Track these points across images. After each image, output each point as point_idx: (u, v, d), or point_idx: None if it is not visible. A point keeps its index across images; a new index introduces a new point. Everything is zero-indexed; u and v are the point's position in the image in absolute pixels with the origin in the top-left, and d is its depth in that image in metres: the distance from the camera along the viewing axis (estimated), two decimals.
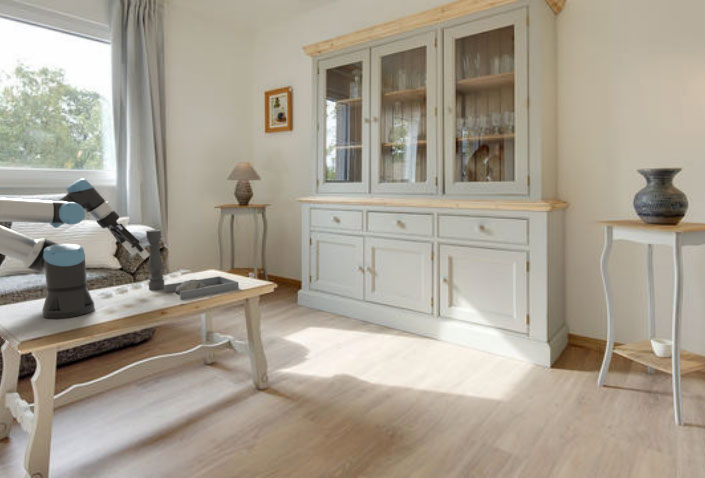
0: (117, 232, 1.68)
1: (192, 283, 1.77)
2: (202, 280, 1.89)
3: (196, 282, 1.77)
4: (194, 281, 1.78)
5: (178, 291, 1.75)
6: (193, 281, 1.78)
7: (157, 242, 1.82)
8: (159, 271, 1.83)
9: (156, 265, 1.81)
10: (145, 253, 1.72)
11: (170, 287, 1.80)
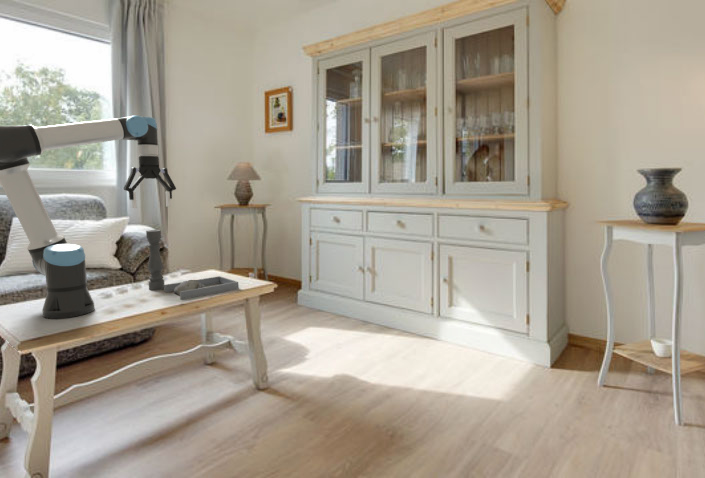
0: (158, 174, 1.80)
1: (191, 283, 1.76)
2: (202, 280, 1.89)
3: (195, 282, 1.76)
4: (193, 281, 1.77)
5: (177, 291, 1.74)
6: (192, 281, 1.77)
7: (157, 242, 1.82)
8: (159, 271, 1.83)
9: (156, 265, 1.81)
10: None
11: (170, 287, 1.80)
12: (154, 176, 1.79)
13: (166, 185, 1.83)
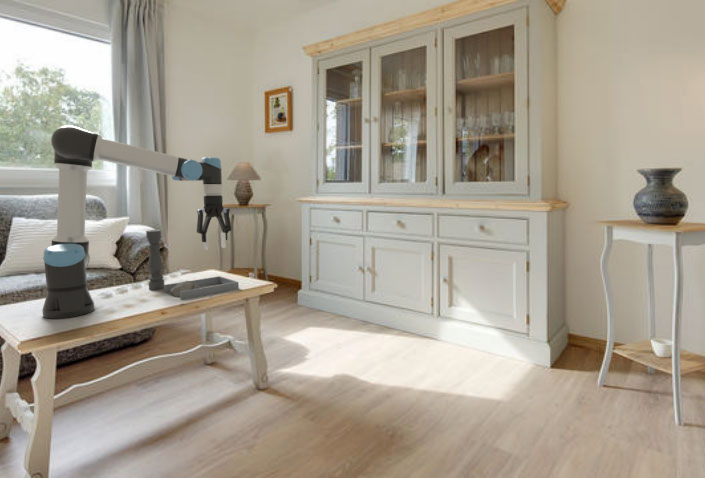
0: (221, 212, 1.83)
1: (187, 284, 1.74)
2: (202, 280, 1.89)
3: (190, 283, 1.74)
4: (189, 282, 1.75)
5: (172, 292, 1.73)
6: (188, 282, 1.75)
7: (157, 242, 1.82)
8: (159, 271, 1.83)
9: (156, 265, 1.81)
10: None
11: (170, 287, 1.80)
12: (218, 214, 1.82)
13: (224, 226, 1.85)
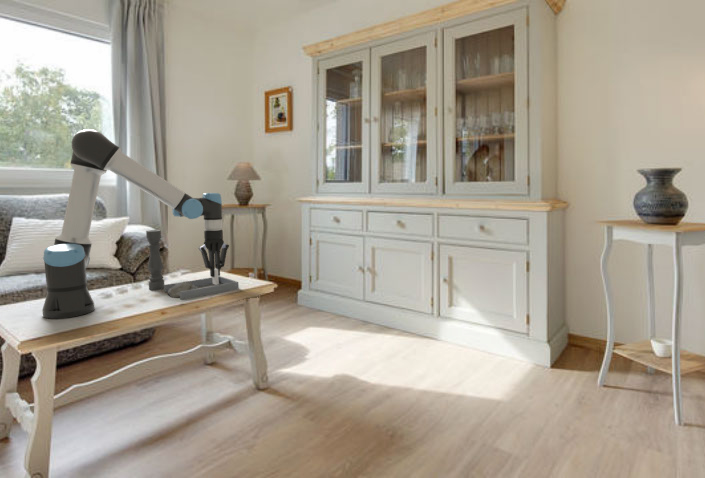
0: (222, 246, 1.85)
1: (184, 285, 1.73)
2: (202, 280, 1.89)
3: (188, 284, 1.73)
4: (186, 283, 1.74)
5: (169, 293, 1.72)
6: (185, 283, 1.74)
7: (157, 242, 1.82)
8: (159, 271, 1.83)
9: (156, 265, 1.81)
10: None
11: (170, 287, 1.80)
12: None
13: (218, 261, 1.84)
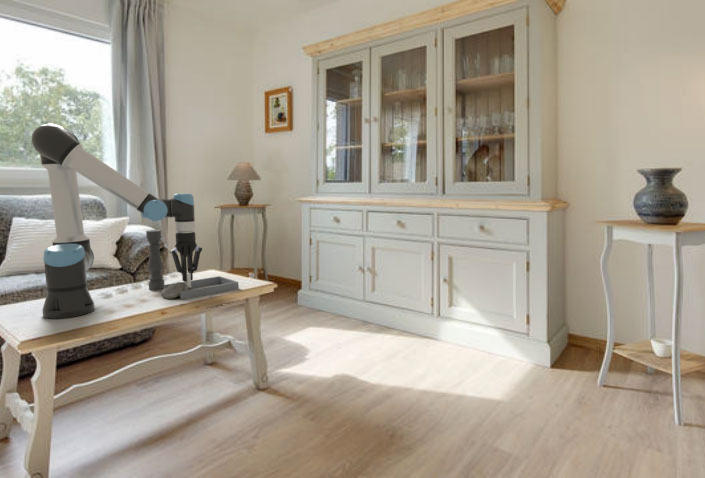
0: (194, 249, 1.77)
1: (178, 286, 1.71)
2: (202, 280, 1.89)
3: (181, 285, 1.70)
4: (180, 284, 1.71)
5: (163, 294, 1.69)
6: (179, 284, 1.71)
7: (157, 242, 1.82)
8: (159, 271, 1.83)
9: (156, 265, 1.81)
10: None
11: None
12: None
13: (191, 265, 1.76)
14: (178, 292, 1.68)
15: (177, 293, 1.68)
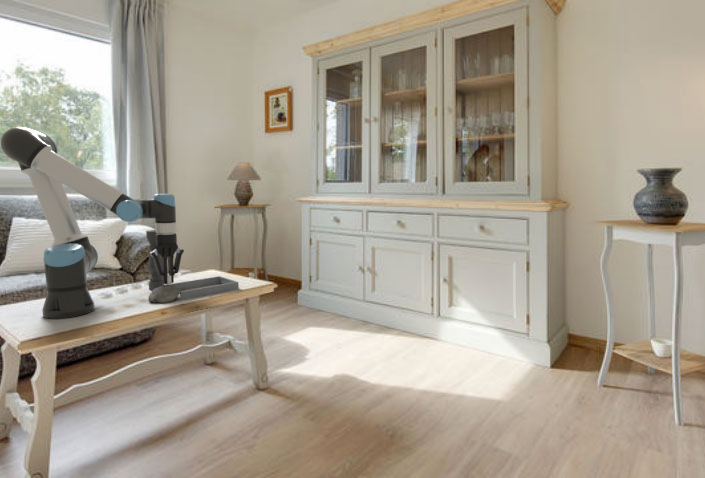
0: (175, 251, 1.72)
1: (168, 288, 1.66)
2: (202, 280, 1.89)
3: (172, 287, 1.67)
4: (169, 286, 1.67)
5: (156, 299, 1.62)
6: (168, 287, 1.67)
7: None
8: None
9: None
10: None
11: None
12: None
13: (172, 267, 1.72)
14: (175, 294, 1.65)
15: (175, 295, 1.65)
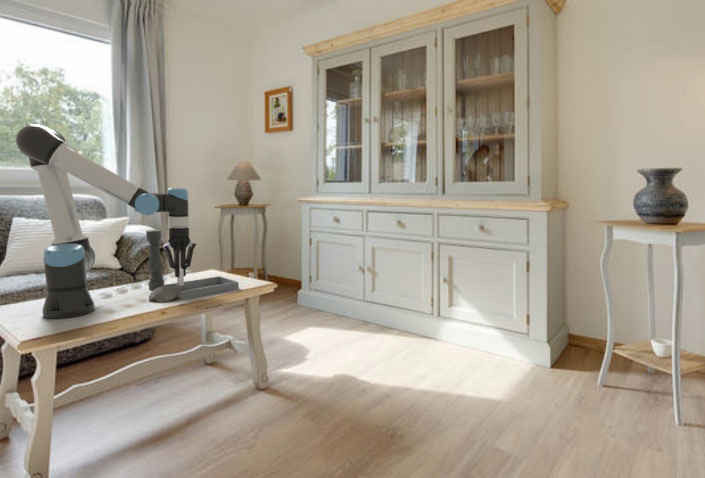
0: None
1: (169, 288, 1.67)
2: (202, 280, 1.89)
3: (173, 287, 1.68)
4: (170, 286, 1.68)
5: (155, 298, 1.63)
6: (169, 287, 1.68)
7: (157, 242, 1.82)
8: (159, 271, 1.83)
9: (156, 265, 1.81)
10: None
11: None
12: None
13: (184, 261, 1.74)
14: (174, 294, 1.65)
15: (173, 295, 1.65)
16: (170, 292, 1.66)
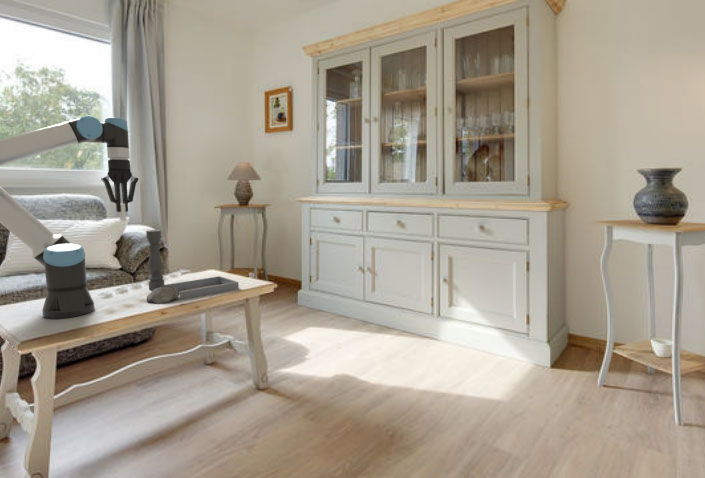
0: None
1: (166, 289, 1.66)
2: (202, 280, 1.89)
3: (171, 288, 1.66)
4: (168, 287, 1.66)
5: (152, 299, 1.62)
6: (167, 288, 1.66)
7: (157, 242, 1.82)
8: (159, 271, 1.83)
9: (156, 265, 1.81)
10: None
11: None
12: None
13: (125, 195, 1.68)
14: (171, 295, 1.64)
15: (171, 296, 1.63)
16: (168, 293, 1.64)
